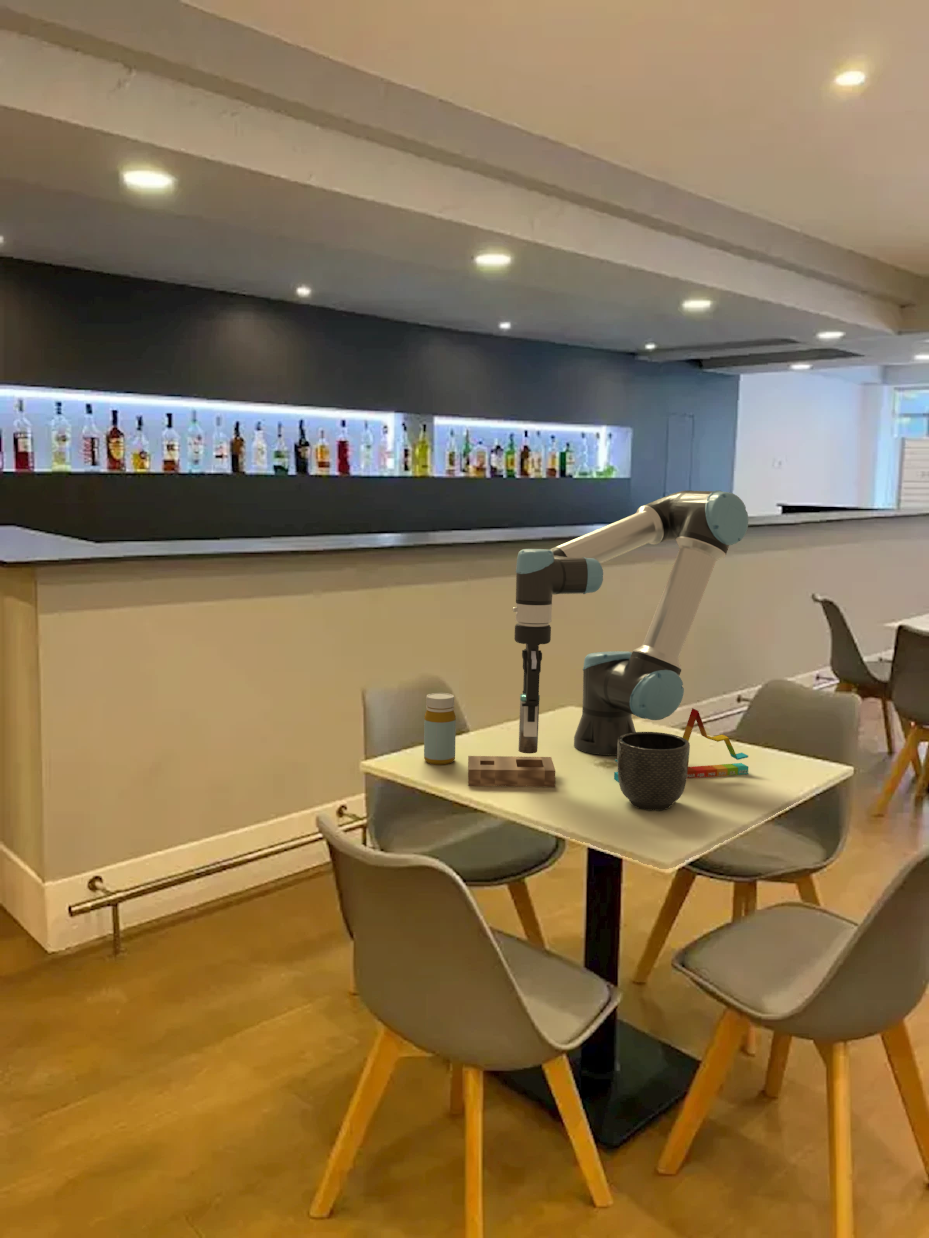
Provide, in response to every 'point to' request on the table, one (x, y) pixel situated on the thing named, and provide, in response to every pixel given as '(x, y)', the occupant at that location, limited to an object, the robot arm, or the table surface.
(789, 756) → the table surface
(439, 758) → the bottle
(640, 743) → the planter
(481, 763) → the socket block
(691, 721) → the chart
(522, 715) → the clear spice jar
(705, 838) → the table surface
